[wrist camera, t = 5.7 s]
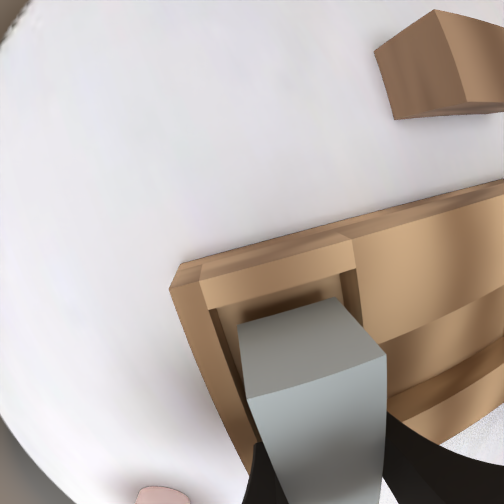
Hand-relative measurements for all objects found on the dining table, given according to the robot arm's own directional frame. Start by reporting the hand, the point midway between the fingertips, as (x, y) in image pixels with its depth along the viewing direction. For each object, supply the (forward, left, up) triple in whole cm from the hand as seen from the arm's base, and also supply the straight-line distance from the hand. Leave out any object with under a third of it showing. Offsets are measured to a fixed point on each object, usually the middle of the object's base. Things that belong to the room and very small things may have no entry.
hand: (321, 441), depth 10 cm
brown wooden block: (-10, -13, -4) cm, 17 cm away
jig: (-5, 0, -4) cm, 7 cm away
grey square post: (0, 0, -2) cm, 2 cm away
